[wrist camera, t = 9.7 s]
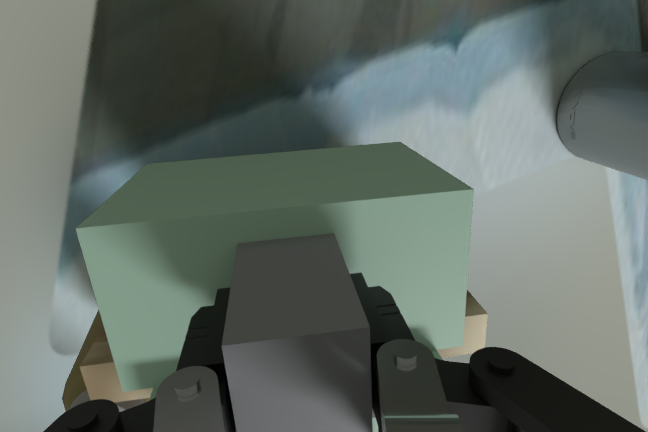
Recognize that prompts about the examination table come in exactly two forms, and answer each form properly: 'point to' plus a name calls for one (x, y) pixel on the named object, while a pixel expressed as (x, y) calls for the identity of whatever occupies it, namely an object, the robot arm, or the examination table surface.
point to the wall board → (107, 386)
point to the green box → (281, 272)
